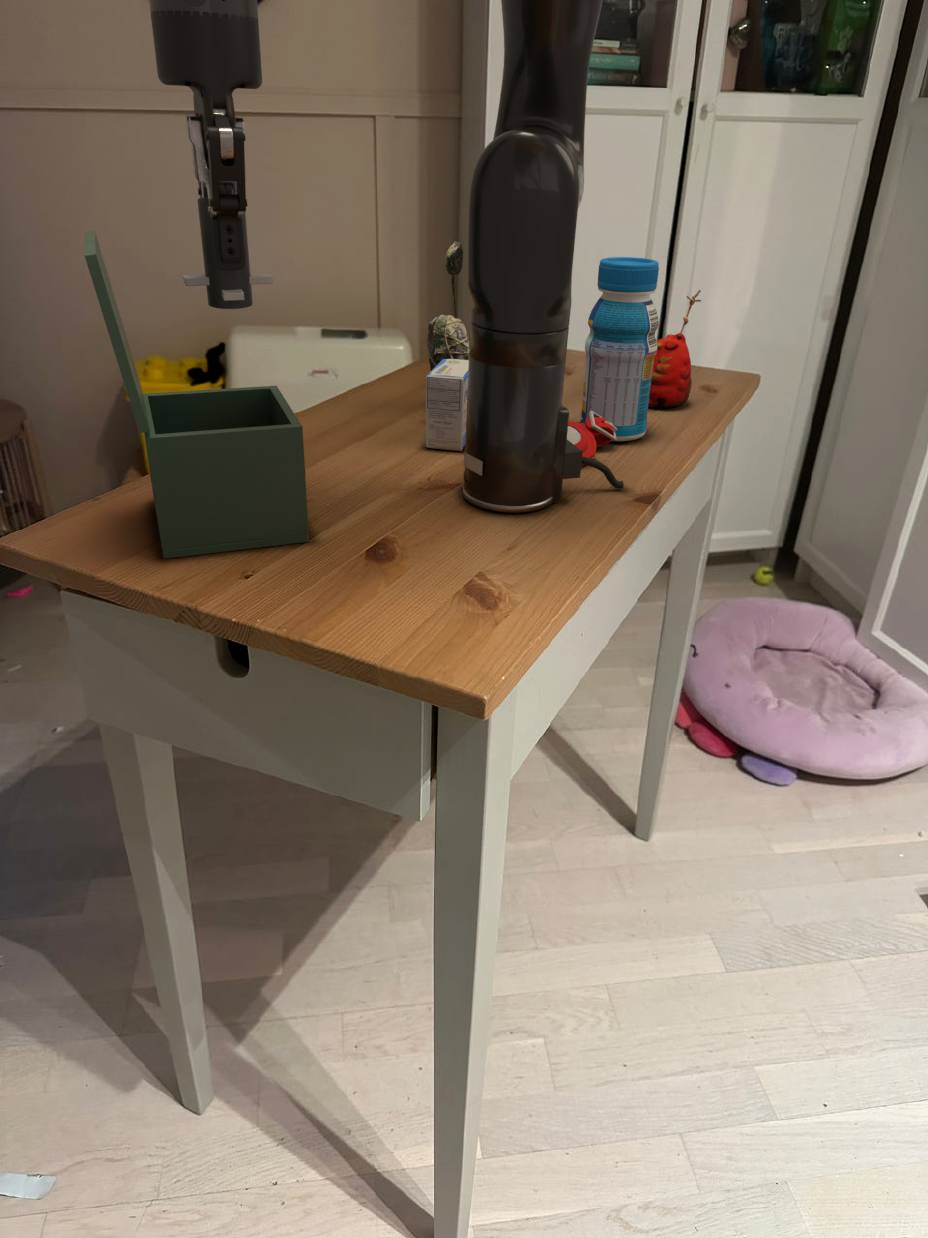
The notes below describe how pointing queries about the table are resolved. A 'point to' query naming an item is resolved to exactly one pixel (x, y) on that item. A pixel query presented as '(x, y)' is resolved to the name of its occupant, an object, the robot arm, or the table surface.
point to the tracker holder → (591, 434)
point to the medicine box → (447, 405)
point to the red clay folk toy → (672, 369)
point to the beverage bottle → (622, 345)
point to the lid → (115, 329)
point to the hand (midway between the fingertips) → (227, 263)
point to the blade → (224, 284)
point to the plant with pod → (449, 321)
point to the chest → (226, 470)
